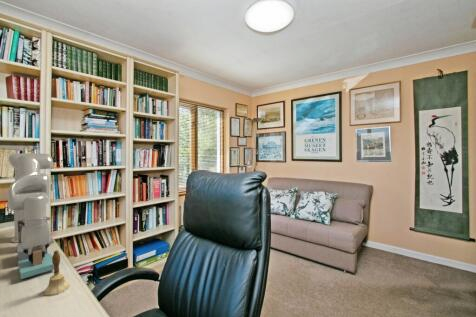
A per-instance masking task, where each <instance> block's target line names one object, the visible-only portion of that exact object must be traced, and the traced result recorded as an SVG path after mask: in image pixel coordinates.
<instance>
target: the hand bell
mask: <svg viewBox="0 0 476 317" xmlns="http://www.w3.org/2000/svg"><path fill="white" fill-rule="evenodd" d="M52 263H53V265H54V269H53V275H51V276H50V278H49V281H48V284H47V287H46V288H45V289H44V291H43V292H42V293H43V295H44V296H47V297H48V296H49V297H51V295H53V296H56V294H57V295H60V294H62V293H64V292H65V290H66V291H67V290H68V289H69V288H70V283H68V282H67V281H66V279H65V275H64V274H63V273H60V263H61V254H60V252H59V250H58V249H57V250H54V251H53V254H52ZM59 293H60V294H59Z"/></svg>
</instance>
